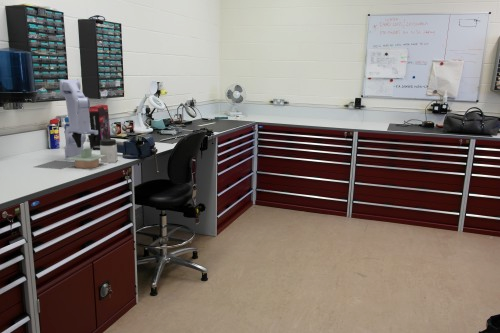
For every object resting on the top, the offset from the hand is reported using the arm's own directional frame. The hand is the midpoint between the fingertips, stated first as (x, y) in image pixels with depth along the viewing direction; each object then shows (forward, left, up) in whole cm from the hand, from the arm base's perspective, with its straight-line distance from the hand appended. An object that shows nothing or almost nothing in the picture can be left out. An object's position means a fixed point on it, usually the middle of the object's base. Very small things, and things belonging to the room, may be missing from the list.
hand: (85, 147), depth 214 cm
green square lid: (0, 0, -5) cm, 5 cm away
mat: (-16, -2, -10) cm, 19 cm away
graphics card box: (-24, +50, -10) cm, 56 cm away
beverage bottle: (-41, +44, -10) cm, 61 cm away
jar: (+4, +14, -10) cm, 18 cm away
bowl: (0, 0, -10) cm, 10 cm away
